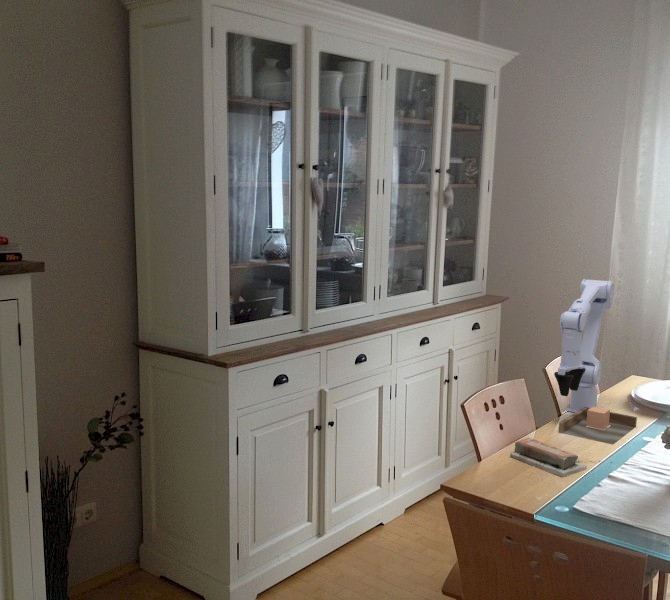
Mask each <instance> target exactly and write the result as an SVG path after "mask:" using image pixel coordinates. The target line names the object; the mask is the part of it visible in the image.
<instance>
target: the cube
mask: <svg viewBox="0 0 670 600" xmlns="http://www.w3.org/2000/svg"><path fill="white" fill-rule="evenodd" d="M610 412H611V409H609V408H603V407H600V406H599V407H598V406H596V407H592V408H590V409H589V410H587V426H588V427H593V428H598V429H602V430H603V429H605V428H606V427H608V426H609V418H610Z"/></svg>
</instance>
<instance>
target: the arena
mask: <svg viewBox="0 0 670 600" xmlns="http://www.w3.org/2000/svg"><path fill="white" fill-rule="evenodd" d="M589 409H590V408H588V407H584V408H582V409H581V410H579V411H577V412H576V413H575V412H573V413H572V414H570V415H569V416H568V417H566V418H564V419H563V420H561V421H560V422H558V433H559V434H564V435H568V436H573V437H577V438H582V439H586V440H591V441H595V442H599V443H604V444H608V445H615V444H616V443H617V442H619V441H620V440H621V439H622V438H624V437H625V436H627V434H629V433H630V432H631V431H633V430H634V429H635V428H637V420H638V418H637V416H634V415H629V414H622V413H618V412H613V411H610V418H609V426H608V427H606V428H605V429H603V430H602V429H598V428H593V427H588V426H587V410H589Z"/></svg>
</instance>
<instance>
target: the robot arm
mask: <svg viewBox="0 0 670 600" xmlns="http://www.w3.org/2000/svg"><path fill="white" fill-rule="evenodd" d="M614 294H615V284H614V281H613V280H598V279H597V280H595V279H587V278H583V280H581V281H580V285H579V295H580V298H577V299H575V300H574V301H573V302H572V304H571V305H570V307H569V309H568V310H567V311H564V312H562V313H561V315H560V318H559V319H560V320H559V327H560V335H561V355H560V356H561V357H560V363H559V367H558V368H557V371H555V372H554V374H553V375H554V377H555V379H556V381H557V385H558V390H559V393H560V396H562V397H568V396H569V393H570V400H569V401H570V404H569V406H568V407H566V408H565V409H564V410H565V412H571V413H576V412H577V411H579V410H581V409H582V408H584V407H588V408H592V407H598V406H597V403H598V401H597V400H598V388H597V385H599V384H600V381H601V377H602V364H601V361H600V360H599V359H597V358H596V356H595V355H596V351H597V346H598V341H599V338H600V332H601V327H602V323H603V318H604V316H605V312H606V310H608V309H611V307H612V304H613V301H614V300H613V299H614ZM582 336H583V337H582Z"/></svg>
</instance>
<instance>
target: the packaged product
mask: <svg viewBox="0 0 670 600" xmlns="http://www.w3.org/2000/svg"><path fill="white" fill-rule="evenodd" d="M509 457H510V458H513V459H515V460H518V461H520V462H522V461H523V463H525V464H527V463H528V464H527V465H529V466H532V465H533V466H532V467H534V466H535V467H534V468H537V467H538V469H539V468H540V470H542V469H543V470H542V471H544V470H545V472H547V471H548V472H547V473H550V472H551V473H550V474H552V473H553V475H555V474H556V475H555V476H558V475H559V476H558V477H560V476H561V478H565V477H568V476H571V475H574V474H577V473H579V472H581V471H582V472H583V471H584V469H585V470H586V469H587V465H584V464H581V463H580V462H576V461H577V460H578V459H579V456H578V455H577V454H574V453H572V452H569V451H566V450H564V449H562V448H558V447H557V446H553V445H550V444H549V443H545V442H543V441H539V440H537V439H534V438H532V437H527V438H524V439H519V440H518V441H515V443H514V450H513V451H511V452H510V453H509ZM573 473H574V474H573ZM570 474H571V475H570ZM567 475H568V476H567ZM564 476H565V477H564Z"/></svg>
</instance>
